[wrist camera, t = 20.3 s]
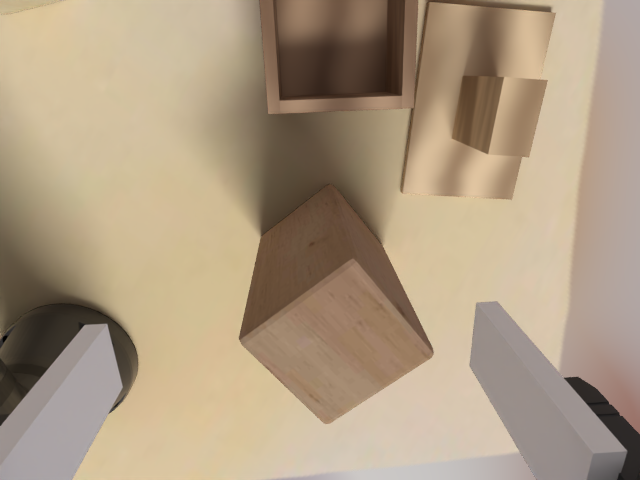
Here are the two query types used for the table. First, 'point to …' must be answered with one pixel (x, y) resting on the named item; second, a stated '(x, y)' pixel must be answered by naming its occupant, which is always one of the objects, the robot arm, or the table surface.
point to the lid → (475, 99)
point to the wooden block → (330, 309)
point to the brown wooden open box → (339, 54)
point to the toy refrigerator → (22, 5)
